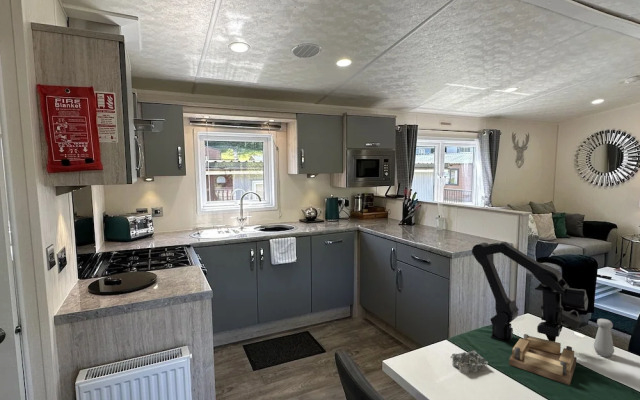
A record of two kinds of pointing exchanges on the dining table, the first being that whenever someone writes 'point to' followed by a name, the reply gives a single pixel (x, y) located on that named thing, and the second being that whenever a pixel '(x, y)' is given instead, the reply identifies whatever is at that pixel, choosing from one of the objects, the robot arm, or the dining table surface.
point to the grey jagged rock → (471, 357)
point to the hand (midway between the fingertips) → (552, 344)
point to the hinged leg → (543, 344)
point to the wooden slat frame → (544, 361)
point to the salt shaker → (604, 338)
